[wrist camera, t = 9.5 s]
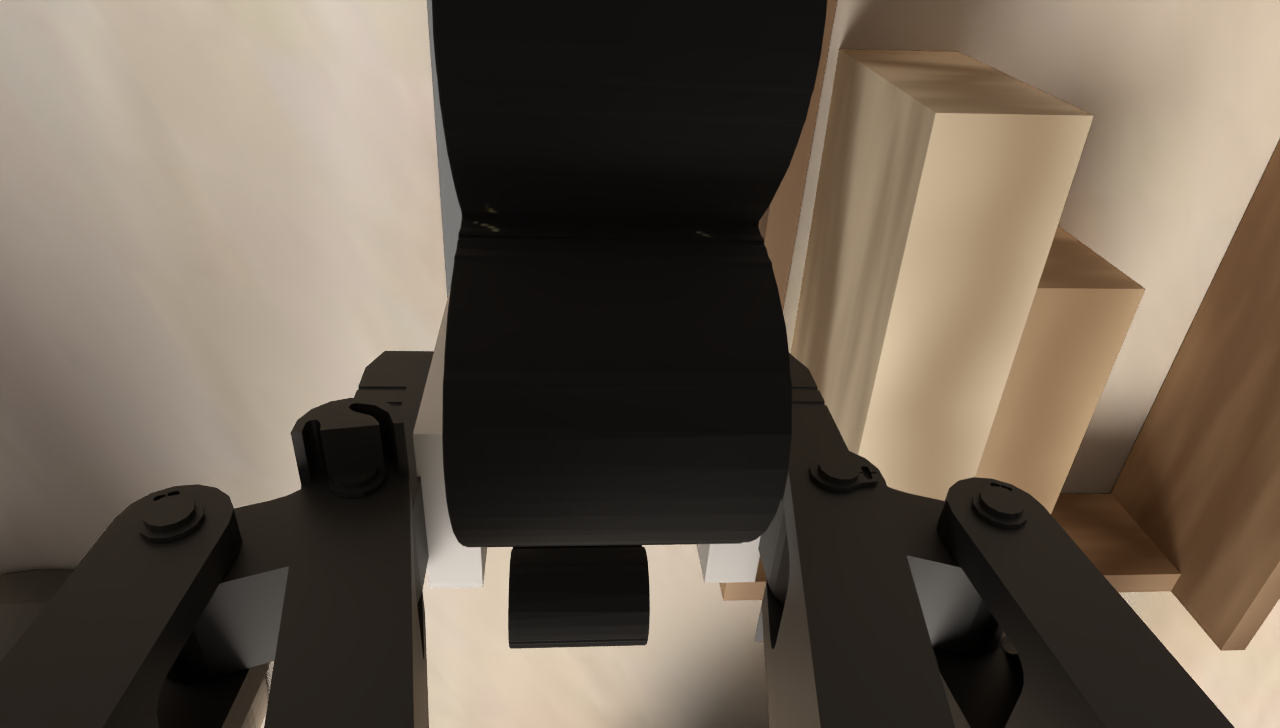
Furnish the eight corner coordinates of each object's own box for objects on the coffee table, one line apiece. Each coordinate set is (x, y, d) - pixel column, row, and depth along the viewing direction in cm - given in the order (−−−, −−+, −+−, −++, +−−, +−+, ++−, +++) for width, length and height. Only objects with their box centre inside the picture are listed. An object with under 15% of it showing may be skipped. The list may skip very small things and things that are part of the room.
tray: (704, 513, 36) (737, 664, 29) (805, -219, 22) (914, -256, 15) (1122, 509, 38) (1244, 649, 31) (1455, -163, 24) (1804, -174, 17)
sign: (525, -211, 23) (378, -1957, 4) (635, -201, 24) (974, -1775, 4) (525, 497, 29) (460, 1184, 9) (615, 496, 29) (732, 1158, 10)
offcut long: (775, 444, 34) (828, 586, 28) (837, 48, 26) (935, 113, 19) (866, 442, 35) (940, 581, 28) (957, 51, 26) (1093, 115, 20)
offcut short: (885, 435, 35) (940, 533, 30) (941, 214, 29) (1021, 288, 24) (973, 434, 35) (1043, 531, 30) (1045, 216, 30) (1145, 289, 25)
